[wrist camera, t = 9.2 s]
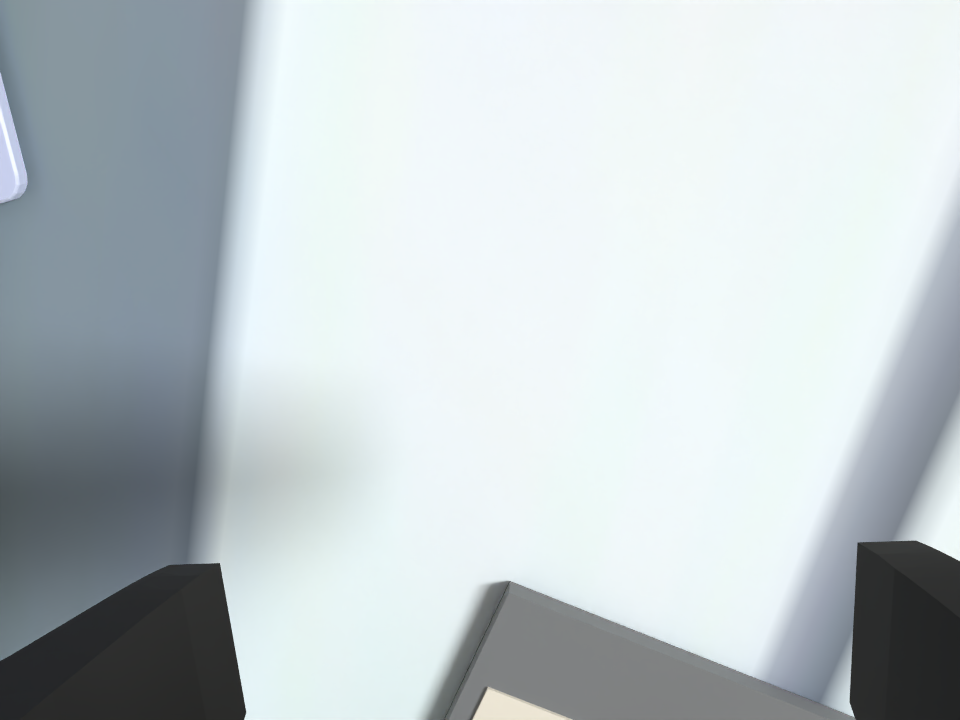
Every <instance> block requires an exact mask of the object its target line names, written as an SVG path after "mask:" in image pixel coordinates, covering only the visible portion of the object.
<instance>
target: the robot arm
mask: <svg viewBox="0 0 960 720" xmlns="http://www.w3.org/2000/svg"><path fill="white" fill-rule="evenodd" d="M27 184H28V183H27V173H26V169H25V165H24V161H23V157H22V154H21V150H20V146H19V142H18V138H17V134H16V131H15V127H14V123H13V119H12V115H11V111H10V108H9V104H8V100H7V96H6V92H5V88H4V85H3V81H2V77H1V73H0V203H3V202H8V201H12V200H15V199H18V198H19V197H20V196H21V195H22V194H23V193H24V192H25V190H26V187H27ZM850 705H851V707H852V710H853V713H854V716H855V719H856V720H960V561H958V560H956V559H954V558H952V557H950V556H948V555H946V554H944V553H942V552H940V551H938V550H936V549H934V548H932V547H930V546H927V545H925V544H923V543H920V542H918V541H891V542H860V543H858V546H857V566H856V586H855V606H854V625H853V645H852V665H851V685H850ZM245 715H246V709H245V703H244V697H243V692H242V686H241V680H240V675H239V669H238V663H237V658H236V652H235V646H234V641H233V635H232V629H231V624H230V618H229V613H228V607H227V601H226V596H225V590H224V584H223V579H222V573H221V567H220V563H214V564H183V565H168V566H166V567H164V568H162V569H159V570H157V571H155V572H153V573H151V574H149V575H147V576H145V577H143V578H141V579H140V580H138V581H136V582H134V583H132V584H130V585H129V586H127V587H125V588H123V589H122V590H120V591H118V592H116V593H115V594H113V595H111V596H110V597H108V598H106V599H105V600H103V601H101V602H100V603H98V604H96V605H94V606H93V607H91V608H89V609H88V610H86V611H84V612H83V613H81V614H79V615H78V616H76V617H74V618H73V619H71V620H69V621H68V622H66V623H64V624H63V625H61V626H59V627H58V628H56V629H54V630H53V631H51V632H49V633H48V634H46V635H44V636H43V637H41V638H39V639H38V640H36V641H34V642H33V643H31V644H29V645H28V646H26V647H24V648H22V649H21V650H19V651H17V652H16V653H14V654H12V655H11V656H9V657H7V658H5V659H3V660H2V661H0V720H244V718H245Z"/></svg>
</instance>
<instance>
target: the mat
mask: <svg viewBox="0 0 960 720" xmlns="http://www.w3.org/2000/svg"><path fill="white" fill-rule="evenodd" d="M444 720H856V719H855V718H854V717H852V716H849V715H847V714H844V713H842V712H839V711H837V710H834V709H832V708H829V707H827V706H824V705H821V704H819V703H816V702H814V701H811V700H809V699H806V698H804V697H801V696H799V695H796V694H794V693H791V692H789V691H786V690H784V689H781V688H779V687H776V686H773V685H771V684H768V683H766V682H763V681H761V680H758V679H756V678H753V677H751V676H748V675H746V674H743V673H741V672H738V671H736V670H733V669H730V668H728V667H725V666H723V665H720V664H718V663H715V662H713V661H710V660H708V659H705V658H703V657H700V656H698V655H695V654H693V653H690V652H688V651H685V650H682V649H680V648H677V647H675V646H672V645H670V644H667V643H665V642H662V641H660V640H657V639H655V638H652V637H650V636H647V635H645V634H642V633H639V632H637V631H634V630H632V629H629V628H627V627H624V626H622V625H619V624H617V623H614V622H612V621H609V620H607V619H604V618H602V617H599V616H597V615H594V614H591V613H589V612H586V611H584V610H581V609H579V608H576V607H574V606H571V605H569V604H566V603H564V602H561V601H559V600H556V599H554V598H551V597H548V596H546V595H543V594H541V593H538V592H536V591H533V590H531V589H528V588H526V587H523V586H521V585H518V584H516V583H513V582H511V581H510V582H509V584H508V586H507V589H506V591H505V593H504V595H503V597H502V599H501V601H500V603H499V605H498V608H497V610H496V612H495V614H494V616H493V618H492V620H491V622H490V624H489V627H488V629H487V631H486V633H485V635H484V637H483V639H482V641H481V643H480V646H479V648H478V650H477V652H476V654H475V656H474V658H473V660H472V662H471V665H470V667H469V669H468V671H467V673H466V675H465V677H464V679H463V681H462V683H461V686H460V688H459V690H458V692H457V694H456V696H455V698H454V700H453V702H452V705H451V707H450V709H449V711H448V713H447V715H446V717H445V719H444Z"/></svg>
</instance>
